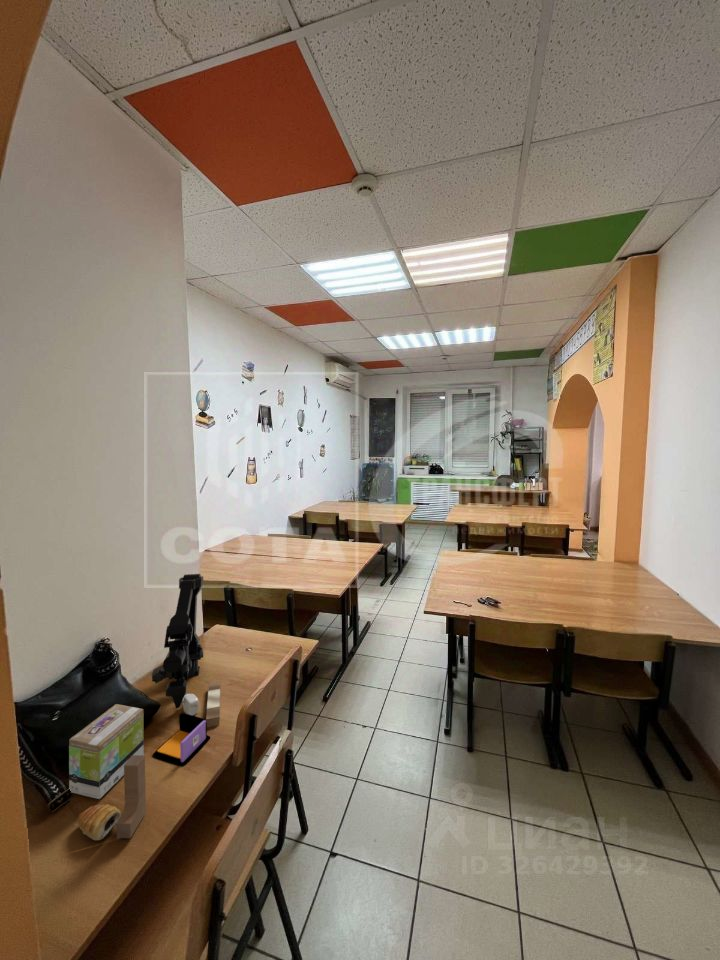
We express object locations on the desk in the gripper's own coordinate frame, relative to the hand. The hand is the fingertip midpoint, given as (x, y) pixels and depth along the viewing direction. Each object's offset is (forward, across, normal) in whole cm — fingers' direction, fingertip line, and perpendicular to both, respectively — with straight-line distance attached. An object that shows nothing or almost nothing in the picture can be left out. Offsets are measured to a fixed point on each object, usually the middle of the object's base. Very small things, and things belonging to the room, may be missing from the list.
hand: (179, 699), depth 134 cm
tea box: (+2, +26, -14) cm, 30 cm away
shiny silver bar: (+2, +5, +12) cm, 13 cm away
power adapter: (+2, +4, +3) cm, 5 cm away
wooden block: (+2, +44, -5) cm, 45 cm away
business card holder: (+2, +22, +4) cm, 22 cm away
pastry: (+3, +39, -12) cm, 41 cm away
